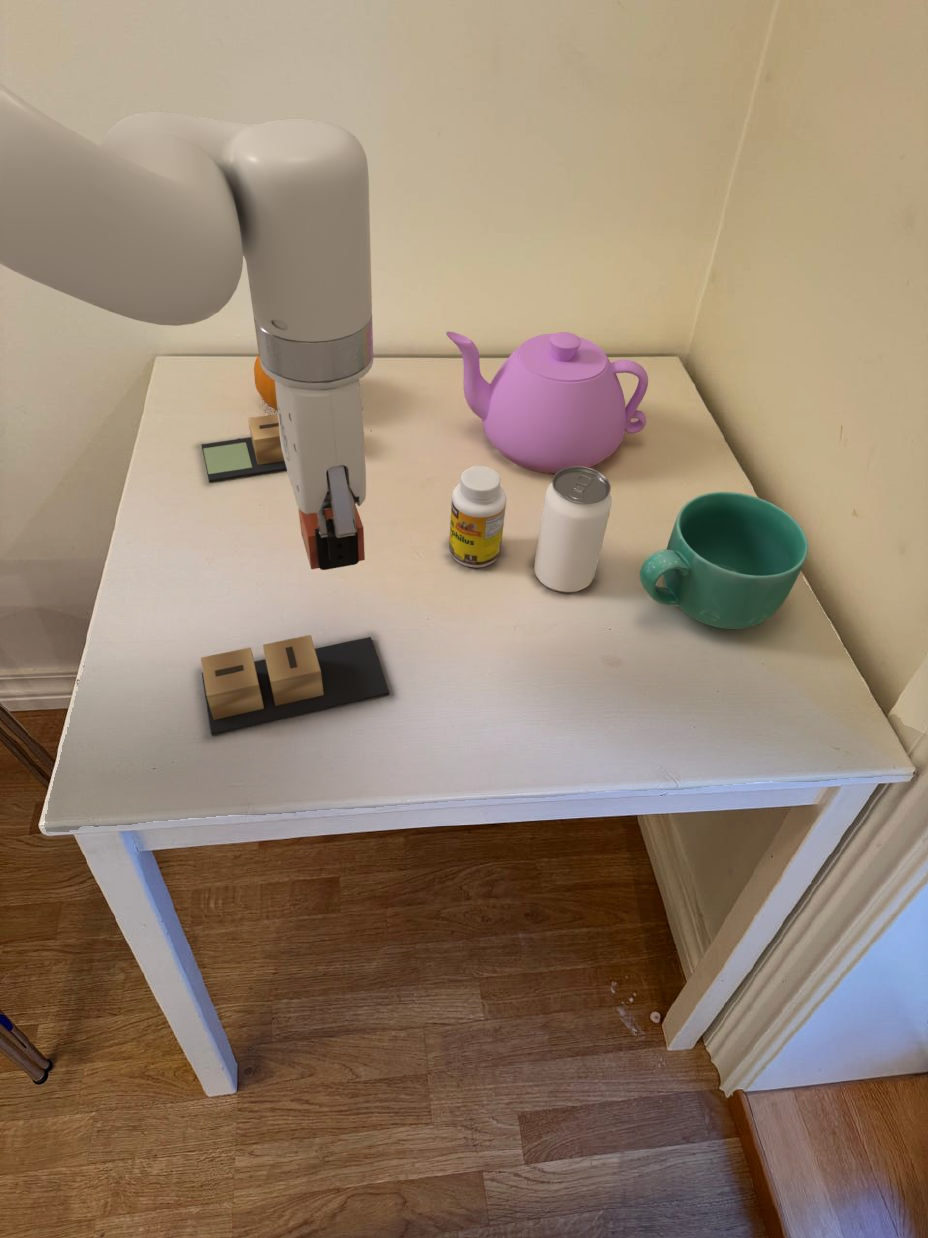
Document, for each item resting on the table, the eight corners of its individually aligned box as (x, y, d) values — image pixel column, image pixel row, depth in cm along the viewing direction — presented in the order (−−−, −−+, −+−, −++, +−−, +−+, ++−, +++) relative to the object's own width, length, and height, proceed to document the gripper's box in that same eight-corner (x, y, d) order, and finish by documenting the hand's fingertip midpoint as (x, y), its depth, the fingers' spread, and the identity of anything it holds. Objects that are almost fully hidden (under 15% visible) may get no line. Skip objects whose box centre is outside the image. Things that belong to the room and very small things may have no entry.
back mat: (209, 482, 95) (208, 479, 95) (202, 446, 99) (201, 443, 99) (346, 461, 99) (346, 457, 98) (333, 427, 103) (333, 424, 103)
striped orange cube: (311, 569, 66) (307, 535, 64) (301, 533, 69) (297, 499, 66) (365, 560, 67) (363, 526, 65) (353, 525, 70) (351, 491, 67)
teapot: (632, 403, 110) (655, 305, 100) (648, 487, 98) (676, 387, 88) (445, 392, 110) (448, 293, 100) (439, 476, 98) (442, 373, 88)
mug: (739, 549, 92) (767, 482, 85) (799, 632, 84) (835, 566, 77) (602, 574, 88) (618, 505, 81) (651, 663, 80) (675, 596, 73)
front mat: (211, 736, 72) (211, 733, 72) (202, 675, 77) (201, 672, 76) (389, 694, 76) (389, 692, 76) (370, 639, 80) (370, 636, 80)
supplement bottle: (438, 547, 90) (441, 472, 82) (479, 528, 92) (485, 453, 84) (469, 577, 87) (475, 502, 79) (510, 557, 89) (520, 482, 82)
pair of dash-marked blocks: (257, 465, 97) (253, 439, 94) (252, 443, 100) (247, 417, 97) (340, 452, 99) (338, 426, 97) (332, 431, 102) (330, 405, 99)
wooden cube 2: (275, 706, 74) (270, 681, 71) (267, 669, 77) (262, 643, 74) (324, 695, 75) (320, 670, 72) (314, 659, 78) (310, 633, 75)
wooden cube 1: (213, 720, 73) (206, 695, 70) (207, 682, 76) (200, 656, 73) (264, 709, 74) (258, 684, 71) (256, 671, 77) (250, 646, 74)
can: (524, 583, 87) (538, 493, 78) (544, 545, 91) (560, 456, 82) (583, 602, 85) (604, 514, 76) (601, 563, 89) (623, 474, 80)
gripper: (240, 284, 59) (270, 486, 72) (279, 419, 48) (305, 627, 62) (344, 275, 61) (354, 474, 74) (404, 403, 50) (403, 608, 64)
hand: (332, 541), depth 68 cm, fingers closed on striped orange cube, 4 cm apart
